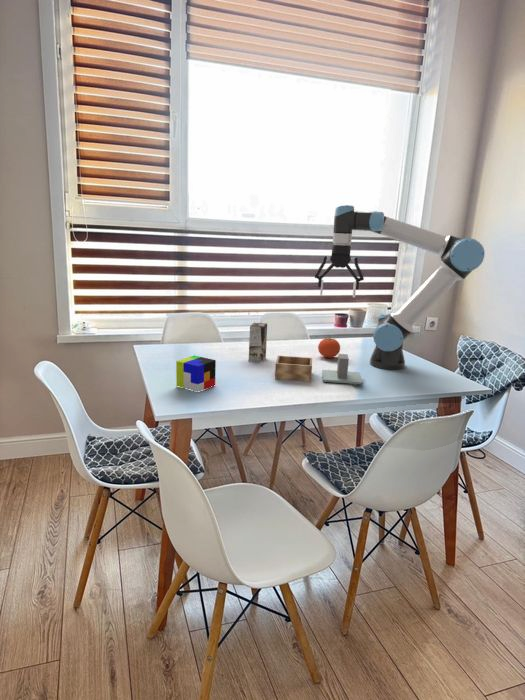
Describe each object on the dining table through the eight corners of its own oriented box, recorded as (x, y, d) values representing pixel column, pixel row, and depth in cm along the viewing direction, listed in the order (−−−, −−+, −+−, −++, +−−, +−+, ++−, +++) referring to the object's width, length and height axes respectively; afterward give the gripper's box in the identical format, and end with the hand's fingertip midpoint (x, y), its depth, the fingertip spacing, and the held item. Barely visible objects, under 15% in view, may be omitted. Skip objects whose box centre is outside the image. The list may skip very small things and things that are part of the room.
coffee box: (262, 363, 205) (263, 327, 201) (248, 361, 206) (249, 325, 202) (266, 357, 214) (267, 323, 210) (252, 356, 215) (253, 322, 211)
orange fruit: (339, 355, 223) (341, 335, 220) (339, 361, 213) (341, 340, 210) (318, 353, 224) (319, 333, 222) (316, 359, 215) (318, 338, 212)
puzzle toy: (197, 393, 165) (198, 366, 163) (176, 387, 170) (176, 361, 168) (215, 386, 174) (215, 360, 171) (194, 380, 179) (194, 355, 176)
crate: (310, 374, 192) (312, 357, 191) (310, 383, 181) (312, 366, 179) (277, 371, 194) (277, 355, 192) (274, 380, 182) (275, 363, 180)
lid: (358, 377, 191) (361, 353, 188) (362, 388, 179) (364, 362, 176) (322, 375, 192) (323, 350, 190) (322, 385, 180) (324, 359, 177)
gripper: (371, 245, 194) (366, 296, 200) (311, 242, 197) (307, 293, 202) (373, 246, 187) (368, 299, 192) (311, 243, 189) (307, 295, 195)
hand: (337, 296), depth 197 cm, fingers open, 13 cm apart
